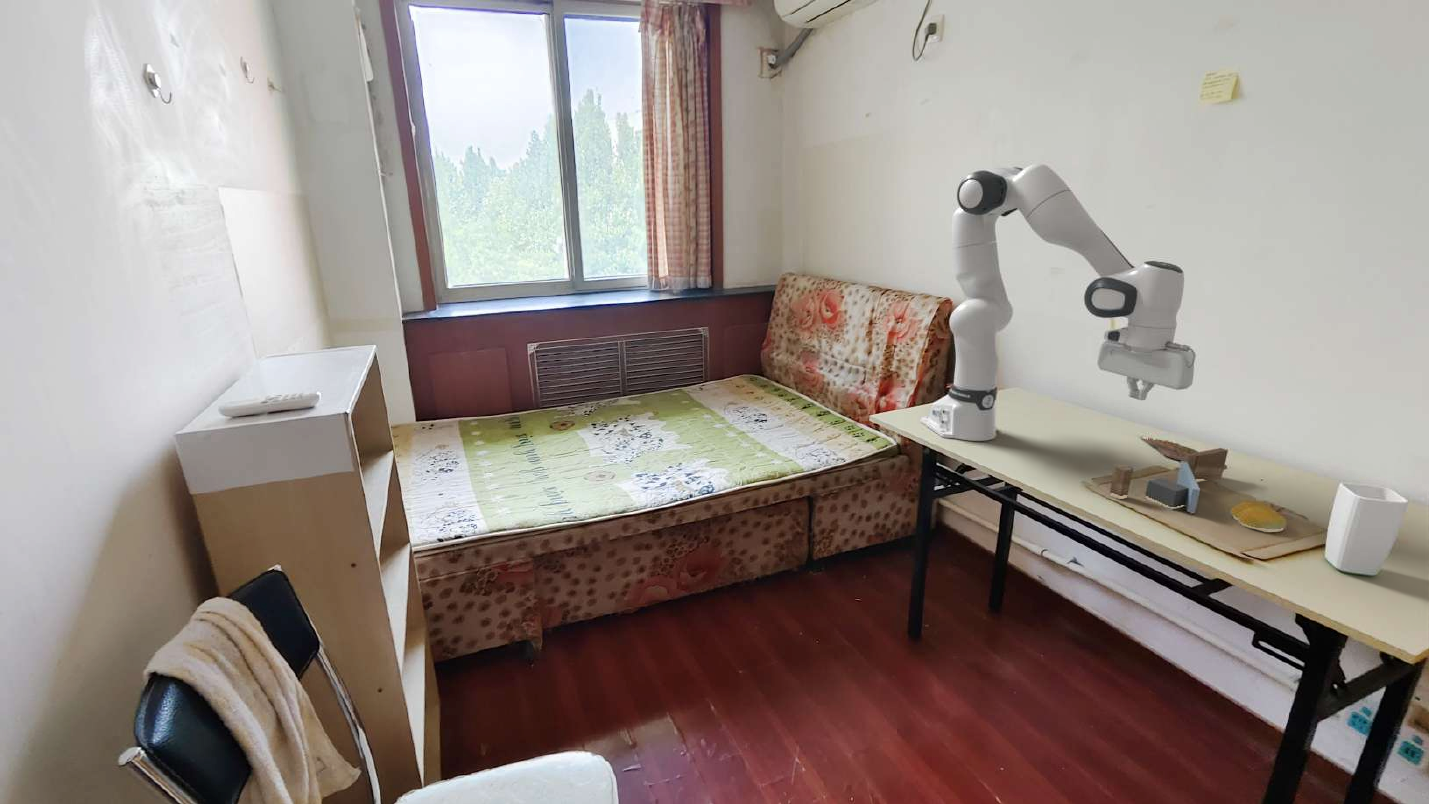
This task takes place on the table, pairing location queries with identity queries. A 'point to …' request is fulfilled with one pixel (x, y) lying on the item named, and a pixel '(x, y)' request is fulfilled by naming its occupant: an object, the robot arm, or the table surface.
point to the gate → (1188, 486)
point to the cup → (1363, 527)
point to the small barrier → (1199, 462)
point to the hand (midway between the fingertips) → (1137, 398)
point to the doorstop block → (1167, 492)
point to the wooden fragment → (1171, 449)
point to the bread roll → (1258, 515)
